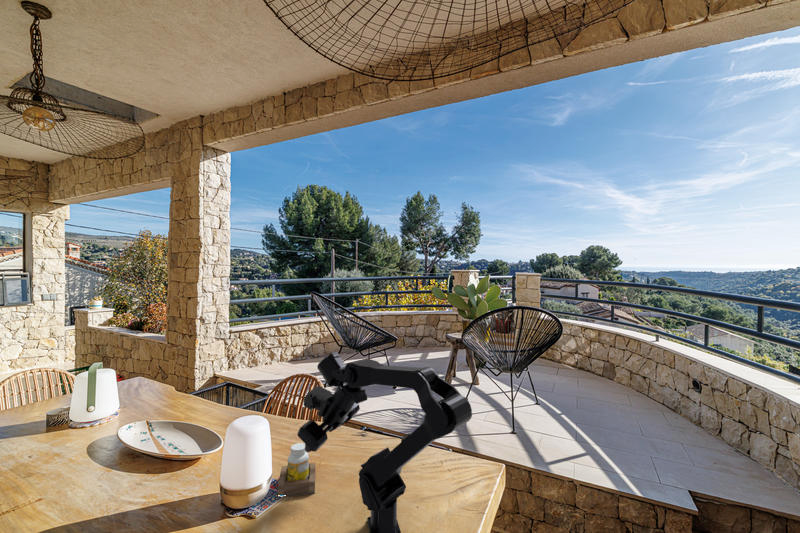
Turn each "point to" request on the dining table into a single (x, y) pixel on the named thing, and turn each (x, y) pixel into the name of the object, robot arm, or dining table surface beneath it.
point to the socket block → (296, 483)
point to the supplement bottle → (298, 463)
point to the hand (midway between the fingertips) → (318, 440)
